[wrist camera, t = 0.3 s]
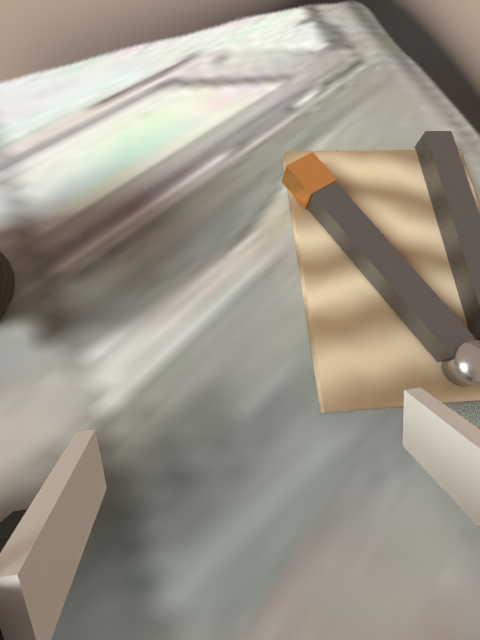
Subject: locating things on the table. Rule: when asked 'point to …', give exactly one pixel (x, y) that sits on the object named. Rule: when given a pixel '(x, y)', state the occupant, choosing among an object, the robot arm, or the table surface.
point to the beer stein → (5, 283)
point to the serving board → (362, 298)
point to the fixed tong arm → (454, 217)
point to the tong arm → (386, 270)
